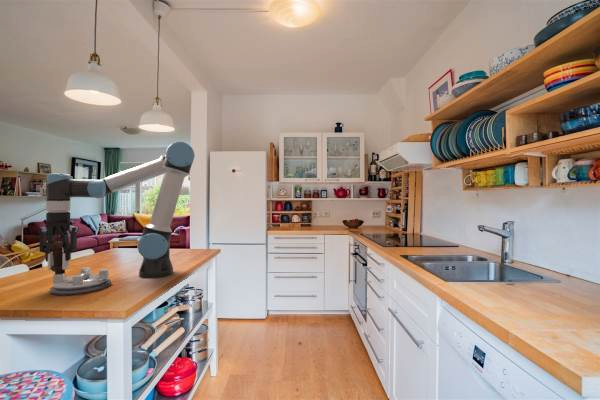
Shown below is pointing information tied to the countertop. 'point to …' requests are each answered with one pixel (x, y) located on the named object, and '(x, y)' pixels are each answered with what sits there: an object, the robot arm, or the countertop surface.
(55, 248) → the bolt
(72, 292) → the dark round base plate
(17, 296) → the countertop surface
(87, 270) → the grey round fixture plate
